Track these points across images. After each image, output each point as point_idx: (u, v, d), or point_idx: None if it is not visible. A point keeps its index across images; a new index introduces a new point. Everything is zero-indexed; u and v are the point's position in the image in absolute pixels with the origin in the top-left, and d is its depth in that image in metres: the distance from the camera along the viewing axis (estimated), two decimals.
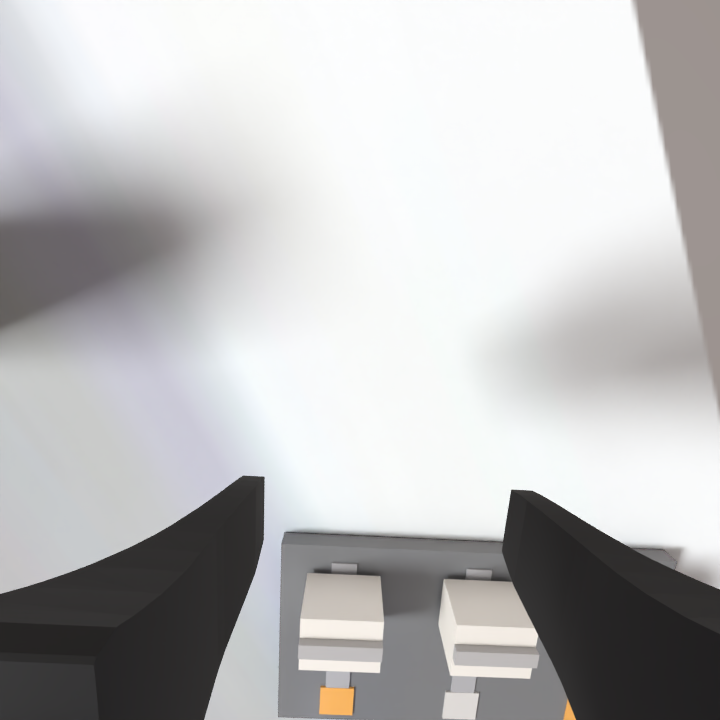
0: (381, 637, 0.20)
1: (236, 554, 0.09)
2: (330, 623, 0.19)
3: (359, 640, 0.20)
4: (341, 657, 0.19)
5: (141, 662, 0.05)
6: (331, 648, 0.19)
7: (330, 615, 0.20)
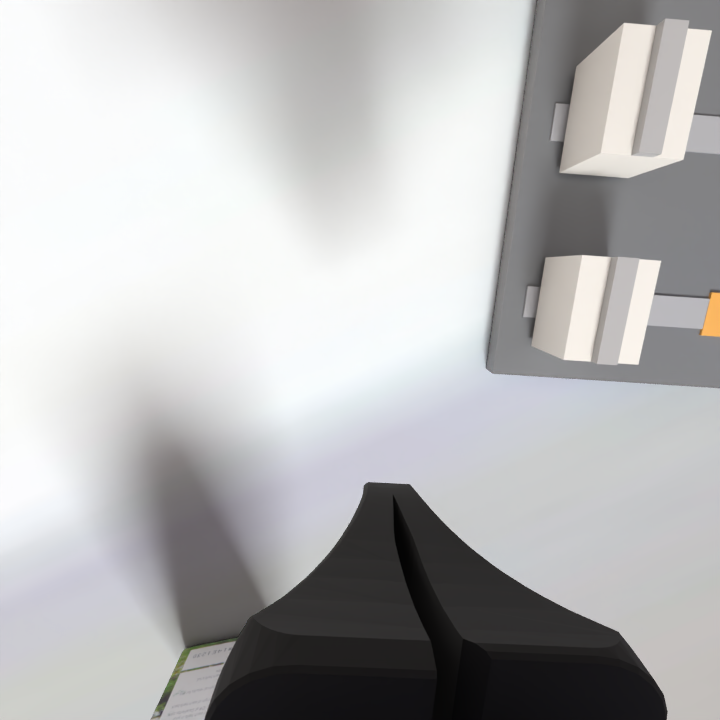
0: (605, 258, 0.15)
1: None
2: (574, 323, 0.16)
3: (606, 287, 0.15)
4: (623, 311, 0.15)
5: None
6: (608, 323, 0.15)
7: (566, 322, 0.16)
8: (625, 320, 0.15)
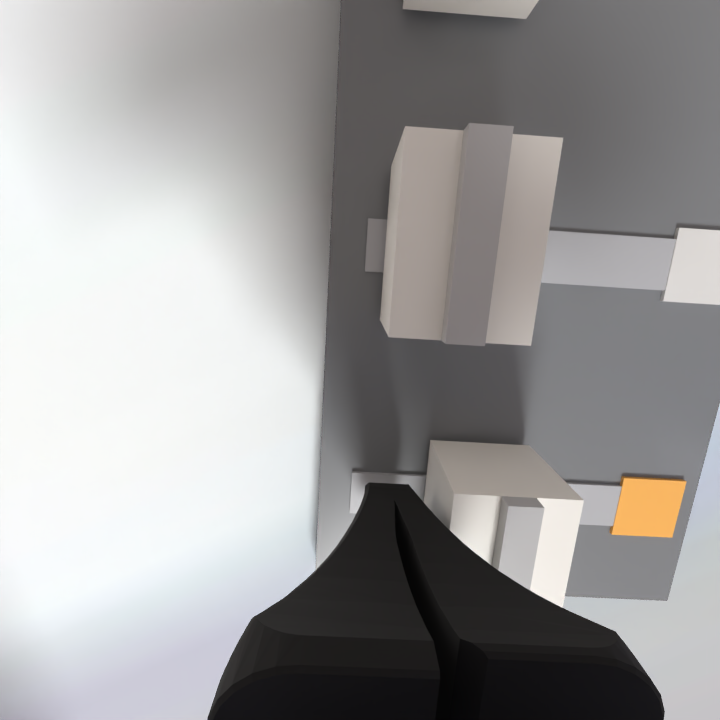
0: (493, 497, 0.09)
1: None
2: None
3: (496, 538, 0.10)
4: (522, 583, 0.09)
5: None
6: None
7: None
8: None
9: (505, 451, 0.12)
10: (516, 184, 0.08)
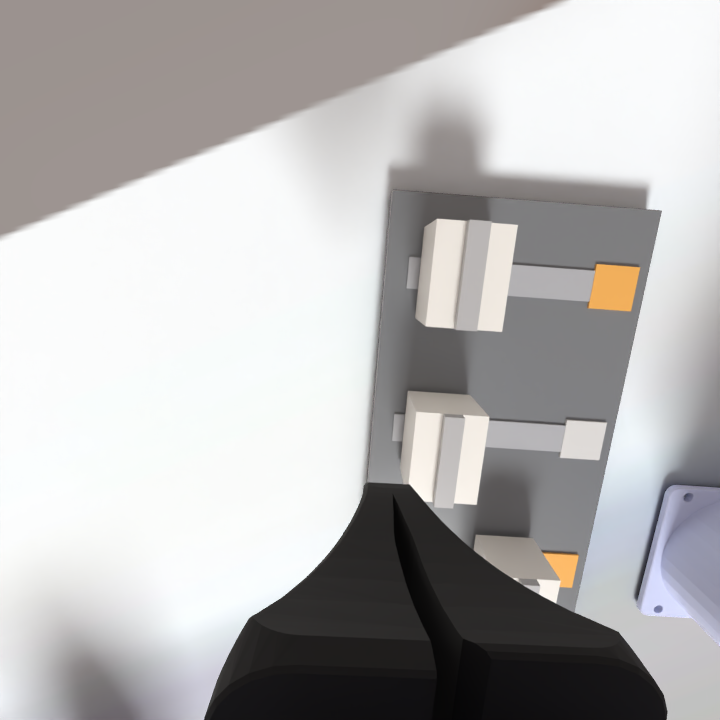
0: (514, 579, 0.18)
1: None
2: None
3: None
4: None
5: None
6: None
7: None
8: None
9: (519, 543, 0.21)
10: (468, 435, 0.17)
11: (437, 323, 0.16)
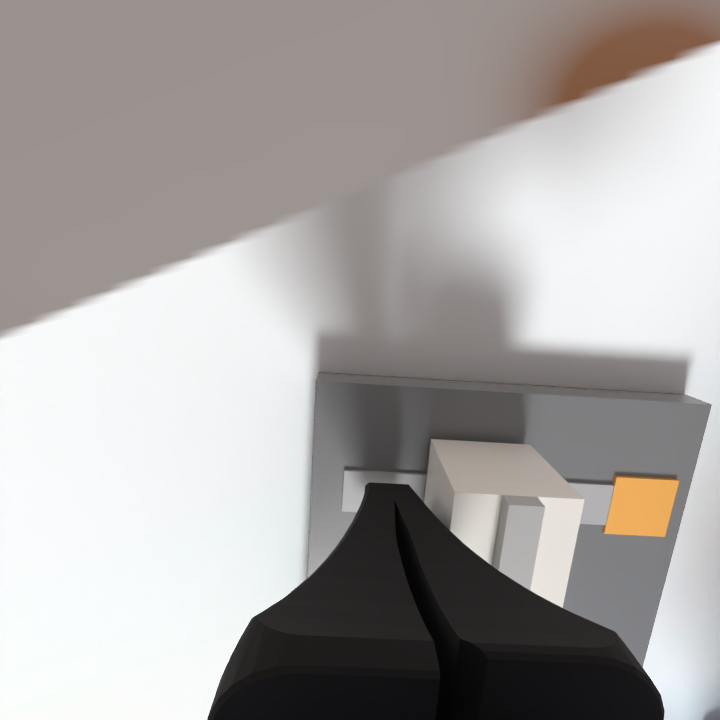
0: None
1: None
2: None
3: None
4: None
5: None
6: None
7: None
8: None
9: None
10: None
11: None
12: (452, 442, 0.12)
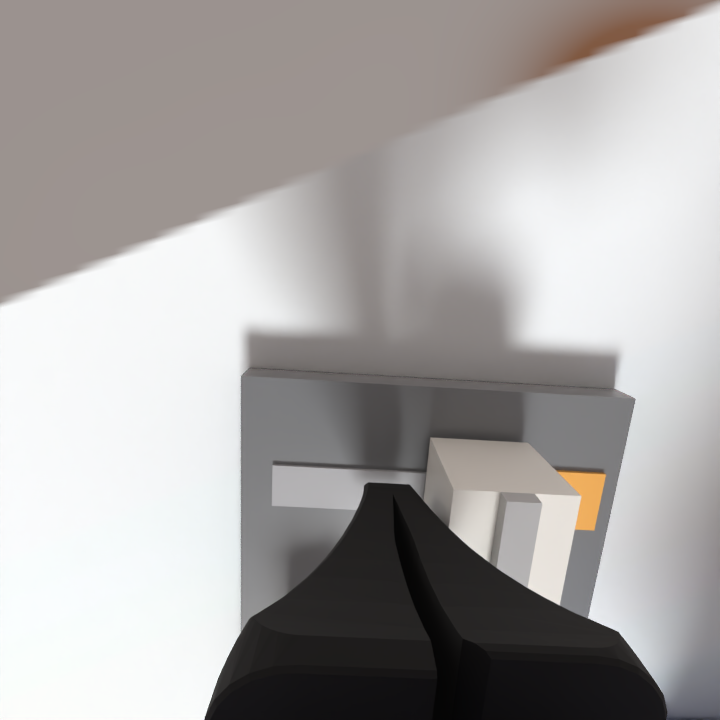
0: None
1: None
2: None
3: None
4: None
5: None
6: None
7: None
8: None
9: None
10: None
11: None
12: (451, 440, 0.12)
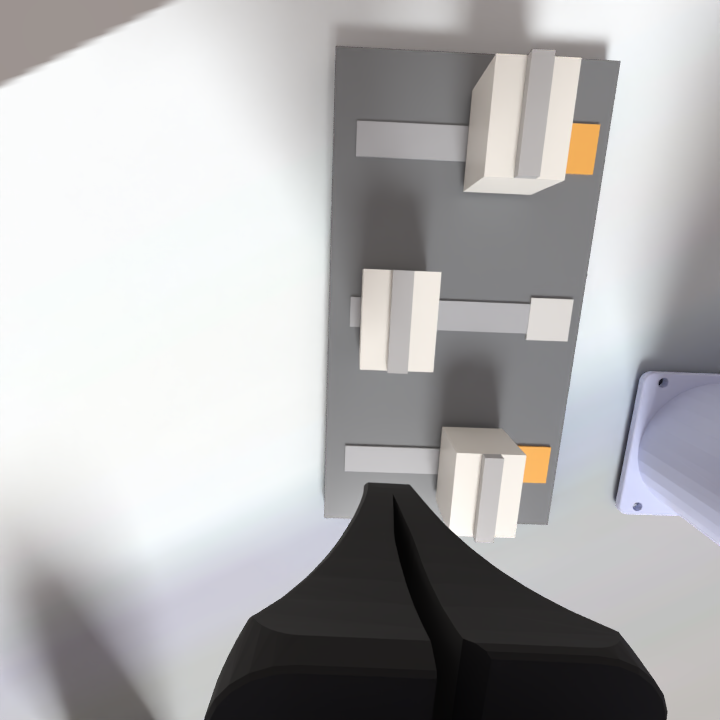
0: (477, 454, 0.17)
1: None
2: (455, 506, 0.18)
3: (480, 477, 0.18)
4: (494, 500, 0.17)
5: None
6: (482, 509, 0.18)
7: (450, 503, 0.18)
8: (496, 507, 0.18)
9: (487, 432, 0.20)
10: (420, 294, 0.16)
11: (496, 172, 0.15)
12: None
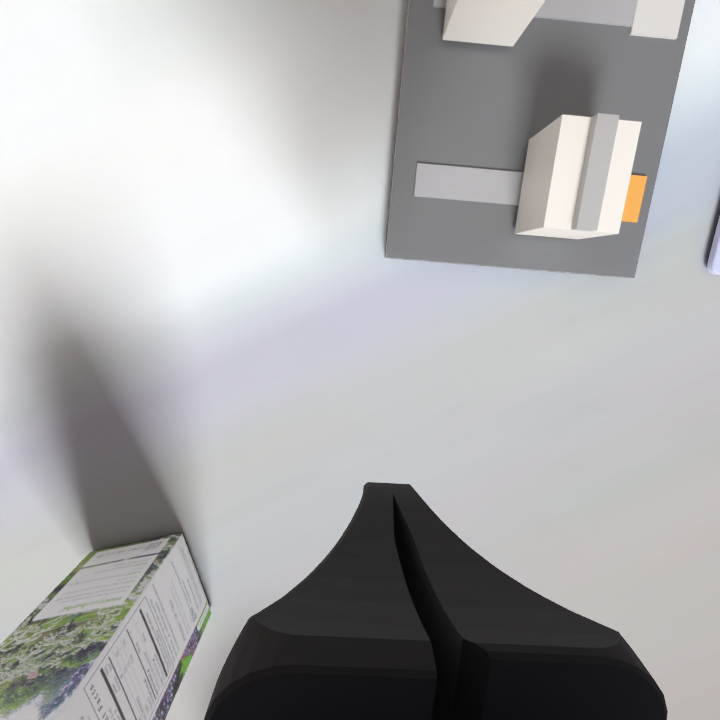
0: (586, 118, 0.15)
1: None
2: (554, 188, 0.16)
3: (586, 149, 0.15)
4: (603, 172, 0.15)
5: None
6: (588, 185, 0.15)
7: (547, 189, 0.16)
8: (605, 182, 0.15)
9: None
10: None
11: None
12: None
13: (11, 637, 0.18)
